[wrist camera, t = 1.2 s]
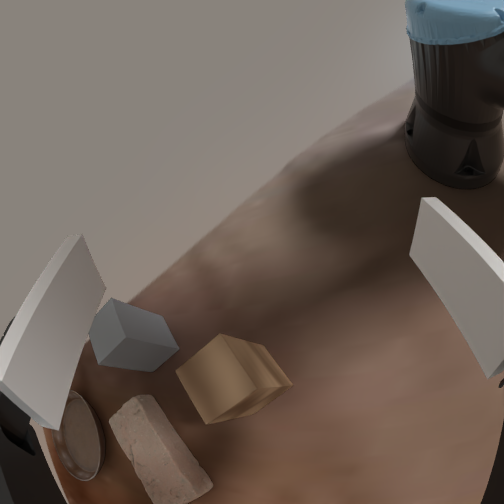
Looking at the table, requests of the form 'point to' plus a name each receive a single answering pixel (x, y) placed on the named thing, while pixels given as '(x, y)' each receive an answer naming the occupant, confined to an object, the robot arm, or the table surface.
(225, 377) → the walnut block
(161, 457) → the brick
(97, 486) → the table surface
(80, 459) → the plant saucer
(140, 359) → the slate block
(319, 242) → the table surface
